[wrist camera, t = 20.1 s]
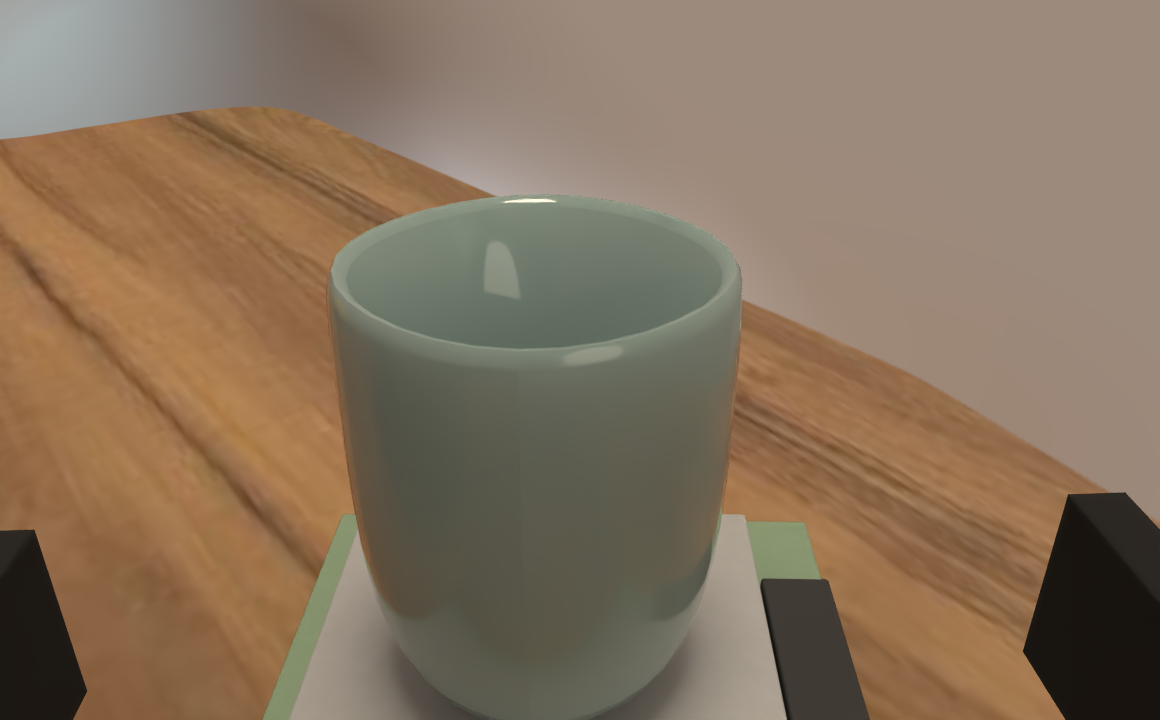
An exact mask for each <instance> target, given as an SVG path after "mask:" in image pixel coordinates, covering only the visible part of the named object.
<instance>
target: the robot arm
mask: <svg viewBox="0 0 1160 720" xmlns="http://www.w3.org/2000/svg"><path fill="white" fill-rule="evenodd" d="M1023 652H1024V654H1025V656H1026V657H1027V659H1028V660H1029V662H1030V664H1031V665H1032V667H1033V668H1034V670H1035V672H1036V673H1037V675H1038V676H1039V678H1040V680H1041V681H1042V683H1043V684H1044V686H1045V688H1046V689H1047V691H1048V692H1049V694H1050V696H1051V697H1052V699H1053V700H1054V702H1055V704H1056V705H1057V707H1058V708H1059V710H1060V712H1061V713H1062V715H1063V716H1064V718H1065V720H1160V529H1159V528H1158V527H1157V526H1156V525H1155V524H1154V523H1153V522H1152V521H1151V520H1150V519H1149V517H1148V516H1147V515H1146V514H1145V513H1144V512H1143V511H1142V510H1141V509H1140V508H1139V507H1138V506H1137V505H1136V504H1135V502H1134V501H1133V500H1132V499H1131V498H1130V497H1129V496H1128V495H1127V494H1126V493H1097V494H1068V497H1067V500H1066V504H1065V507H1064V511H1063V514H1062V518H1061V521H1060V525H1059V528H1058V532H1057V535H1056V538H1055V542H1054V545H1053V549H1052V552H1051V556H1050V559H1049V563H1048V566H1047V570H1046V573H1045V577H1044V580H1043V583H1042V587H1041V590H1040V594H1039V597H1038V601H1037V604H1036V608H1035V611H1034V615H1033V618H1032V622H1031V625H1030V628H1029V632H1028V635H1027V639H1026V642H1025V646H1024V649H1023ZM86 692H87V689H86V686H85V683H84V680H83V677H82V674H81V671H80V668H79V665H78V662H77V659H76V656H75V653H74V650H73V646H72V643H71V640H70V637H69V634H68V631H67V628H66V625H65V622H64V619H63V616H62V613H61V610H60V607H59V604H58V601H57V598H56V594H55V591H54V588H53V585H52V582H51V579H50V576H49V573H48V570H47V567H46V564H45V561H44V558H43V555H42V552H41V549H40V546H39V543H38V539H37V536H36V533H35V530H11V531H0V720H73V718H74V716H75V714H76V712H77V710H78V708H79V706H80V704H81V702H82V700H83V698H84V696H85V694H86Z"/></svg>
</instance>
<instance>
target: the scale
mask: <svg viewBox="0 0 1160 720" xmlns="http://www.w3.org/2000/svg"><path fill="white" fill-rule="evenodd" d="M262 720H484V719H481V718H478V717H476V716H474V715H472V714H470V713H468V712H467V711H465V710H463V709H461V708H459V707H457V706H455V705H454V704H452V703H451V702H450V701H449V700H447V699H446V698H445V697H443V696H442V695H441V694H440V693H438V692H437V691H436V690H435V689H433V688H432V687H431V686H430V685H429V684H428V683H427V682H426V681H425V680H424V679H423V678H422V677H421V676H420V675H419V674H418V672H417V671H416V670H415V669H414V668H413V667H412V665H411V664H410V663H409V662H408V661H407V659H406V657H405V656H404V654H403V653H402V651H401V649H400V648H399V646H398V645H397V643H396V641H395V639H394V637H393V635H392V633H391V631H390V629H389V628H388V626H387V624H386V621H385V619H384V617H383V614H382V612H381V610H380V607H379V605H378V603H377V600H376V597H375V594H374V590H373V587H372V584H371V581H370V578H369V574H368V571H367V566H366V562H365V558H364V554H363V550H362V546H361V541H360V536H359V531H358V526H357V520H356V515H355V514H344V515H342V518H341V520H340V523H339V525H338V528H337V530H336V533H335V535H334V538H333V541H332V543H331V546H330V548H329V551H328V553H327V556H326V558H325V561H324V563H323V566H322V569H321V571H320V574H319V576H318V579H317V581H316V584H315V586H314V589H313V591H312V594H311V597H310V599H309V602H308V604H307V607H306V609H305V612H304V614H303V617H302V619H301V622H300V625H299V627H298V630H297V632H296V635H295V637H294V640H293V642H292V645H291V648H290V650H289V653H288V655H287V658H286V660H285V663H284V665H283V668H282V670H281V673H280V676H279V678H278V681H277V683H276V686H275V688H274V691H273V693H272V696H271V698H270V701H269V704H268V706H267V709H266V711H265V714H264V716H263V719H262ZM591 720H870V719H869V715H868V712H867V709H866V705H865V702H864V699H863V695H862V692H861V689H860V685H859V682H858V679H857V675H856V672H855V669H854V665H853V662H852V658H851V655H850V652H849V648H848V645H847V642H846V638H845V635H844V632H843V628H842V625H841V622H840V618H839V615H838V612H837V608H836V605H835V602H834V598H833V595H832V592H831V588H830V585H829V582H828V580H825V579H821V577H820V573H819V570H818V566H817V563H816V559H815V556H814V553H813V549H812V546H811V542H810V539H809V535H808V532H807V528H806V525H805V523H803V522H758V521H746V517H745V515H739V514H722V519H721V525H720V531H719V536H718V541H717V546H716V551H715V556H714V561H713V565H712V568H711V572H710V576H709V579H708V583H707V587H706V590H705V592H704V595H703V598H702V600H701V603H700V606H699V608H698V611H697V613H696V616H695V618H694V621H693V623H692V626H691V628H690V631H689V633H688V634H687V636H686V638H685V640H684V641H683V643H682V645H681V647H680V648H679V650H678V651H677V653H676V654H675V655H674V657H673V658H672V659H671V661H670V662H669V663H668V665H667V666H666V668H665V669H664V670H663V671H662V672H661V673H660V674H659V675H658V676H657V677H656V678H655V679H654V680H653V681H651V682H650V683H649V684H648V685H647V686H646V687H645V688H644V689H643V690H642V691H640V692H639V693H638V694H637V695H636V696H634V697H633V698H631V699H630V700H628V701H626V702H625V703H623V704H622V705H620V706H619V707H617V708H615V709H614V710H611V711H609V712H607V713H604V714H602V715H600V716H597V717H595V718H593V719H591Z"/></svg>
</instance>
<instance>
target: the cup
mask: <svg viewBox="0 0 1160 720" xmlns="http://www.w3.org/2000/svg"><path fill="white" fill-rule="evenodd" d="M326 305H327V317H328V328H329V337H330V346H331V354H332V362H333V370H334V378H335V386H336V393H337V401H338V408H339V416H340V423H341V430H342V437H343V444H344V451H345V458H346V464H347V470H348V477H349V483H350V489H351V494H352V500H353V505H354V510H355V515H356V520H357V526H358V531H359V536H360V541H361V546H362V550H363V554H364V558H365V562H366V566H367V571H368V574H369V578H370V581H371V584H372V587H373V590H374V594H375V597H376V600H377V603H378V605H379V607H380V610H381V612H382V614H383V617H384V619H385V621H386V624H387V626H388V628H389V629H390V631H391V633H392V635H393V637H394V639H395V641H396V643H397V645H398V646H399V648H400V649H401V651H402V653H403V654H404V656H405V657H406V659H407V661H408V662H409V663H410V664H411V665H412V667H413V668H414V669H415V670H416V671H417V672H418V674H419V675H420V676H421V677H422V678H423V679H424V680H425V681H426V682H427V683H428V684H429V685H430V686H431V687H432V688H433V689H435V690H436V691H437V692H438V693H440V694H441V695H442V696H443V697H445V698H446V699H447V700H449V701H450V702H451V703H452V704H454V705H455V706H457V707H459V708H461V709H463V710H465V711H467V712H468V713H470V714H472V715H474V716H476V717H478V718H481V719H484V720H591V719H593V718H595V717H597V716H600V715H602V714H604V713H607V712H609V711H611V710H614V709H615V708H617V707H619V706H620V705H622V704H623V703H625V702H626V701H628V700H630V699H631V698H633V697H634V696H636V695H637V694H638V693H639V692H640V691H642V690H643V689H644V688H645V687H646V686H647V685H648V684H649V683H650V682H651V681H653V680H654V679H655V678H656V677H657V676H658V675H659V674H660V673H661V672H662V671H663V670H664V669H665V668H666V666H667V665H668V663H669V662H670V661H671V659H672V658H673V657H674V655H675V654H676V653H677V651H678V650H679V648H680V647H681V645H682V643H683V641H684V640H685V638H686V636H687V634H688V633H689V631H690V628H691V626H692V623H693V621H694V618H695V616H696V613H697V611H698V608H699V606H700V603H701V600H702V598H703V595H704V592H705V590H706V587H707V583H708V579H709V576H710V572H711V568H712V565H713V561H714V556H715V551H716V546H717V541H718V536H719V531H720V525H721V519H722V512H723V506H724V499H725V492H726V483H727V475H728V467H729V458H730V449H731V439H732V429H733V418H734V408H735V397H736V386H737V375H738V363H739V351H740V338H741V320H742V278H741V270H740V267H739V265H738V263H737V261H736V260H735V258H734V257H733V255H732V253H731V252H730V250H729V248H728V247H727V246H725V245H724V244H723V243H722V242H720V241H719V240H718V239H717V238H716V237H714V236H713V235H712V234H710V233H708V232H706V231H704V230H702V229H700V228H699V227H697V226H695V225H693V224H691V223H688V222H686V221H683V220H681V219H678V218H676V217H673V216H670V215H668V214H665V213H661V212H658V211H654V210H651V209H647V208H644V207H640V206H636V205H631V204H626V203H621V202H616V201H611V200H604V199H597V198H589V197H581V196H566V195H514V196H503V197H492V198H482V199H476V200H470V201H464V202H458V203H452V204H448V205H443V206H439V207H435V208H431V209H426V210H422V211H419V212H416V213H413V214H409V215H406V216H403V217H400V218H397V219H394V220H391V221H389V222H387V223H384V224H382V225H380V226H377V227H375V228H373V229H370V230H368V231H367V232H365V233H363V234H362V235H360V236H358V237H357V238H355V239H353V240H352V241H350V242H349V243H348V244H347V245H346V246H345V247H344V248H343V249H342V250H341V251H340V252H339V253H338V254H337V255H336V256H335V258H334V260H333V261H332V264H331V267H330V270H329V273H328V276H327V284H326Z"/></svg>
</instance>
